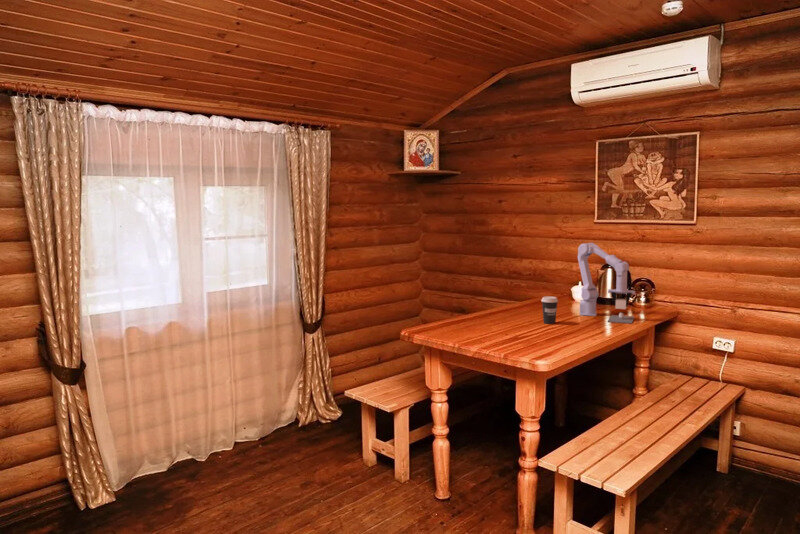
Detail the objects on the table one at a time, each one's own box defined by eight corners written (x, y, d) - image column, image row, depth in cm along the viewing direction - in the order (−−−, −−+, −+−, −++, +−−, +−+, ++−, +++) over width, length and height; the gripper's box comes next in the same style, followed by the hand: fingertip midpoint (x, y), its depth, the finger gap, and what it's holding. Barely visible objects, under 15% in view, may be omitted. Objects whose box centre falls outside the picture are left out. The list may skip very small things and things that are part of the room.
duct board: (607, 322, 331) (607, 314, 331) (611, 316, 347) (611, 309, 347) (631, 323, 326) (632, 316, 325) (634, 317, 342) (634, 310, 341)
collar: (615, 308, 334) (615, 300, 334) (616, 306, 339) (616, 298, 339) (625, 309, 332) (625, 300, 331) (626, 307, 337) (626, 299, 336)
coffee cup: (539, 324, 330) (539, 298, 328) (543, 320, 339) (543, 295, 337) (555, 325, 326) (556, 299, 324) (559, 322, 334) (559, 296, 332)
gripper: (607, 283, 333) (607, 306, 335) (634, 284, 327) (633, 307, 329) (609, 281, 340) (608, 304, 341) (635, 282, 333) (634, 305, 335)
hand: (621, 305), depth 335 cm, fingers closed on collar, 6 cm apart
